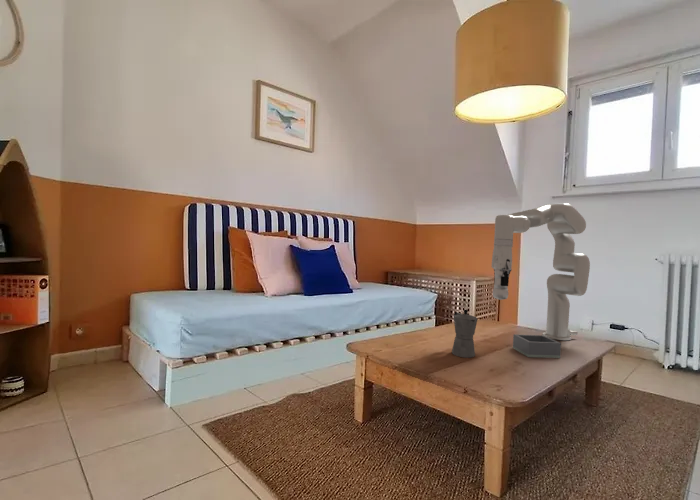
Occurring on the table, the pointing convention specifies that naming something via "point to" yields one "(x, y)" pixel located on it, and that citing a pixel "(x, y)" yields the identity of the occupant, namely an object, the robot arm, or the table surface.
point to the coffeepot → (464, 335)
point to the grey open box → (536, 346)
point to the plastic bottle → (499, 285)
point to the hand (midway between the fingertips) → (501, 284)
